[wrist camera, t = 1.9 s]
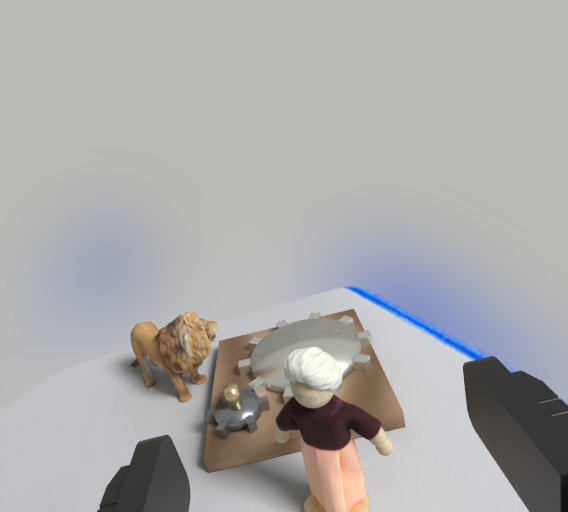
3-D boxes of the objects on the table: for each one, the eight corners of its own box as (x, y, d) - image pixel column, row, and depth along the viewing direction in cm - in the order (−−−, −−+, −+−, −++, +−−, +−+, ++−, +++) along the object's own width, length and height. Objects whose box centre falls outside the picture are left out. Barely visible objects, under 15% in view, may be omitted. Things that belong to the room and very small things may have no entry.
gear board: (208, 472, 33) (203, 458, 33) (222, 351, 49) (219, 341, 49) (405, 426, 33) (403, 411, 33) (355, 319, 49) (353, 308, 48)
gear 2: (239, 418, 36) (236, 410, 36) (242, 337, 48) (240, 330, 48) (391, 383, 36) (390, 373, 35) (356, 310, 48) (355, 302, 48)
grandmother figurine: (285, 534, 27) (233, 378, 23) (294, 482, 31) (250, 337, 26) (407, 537, 25) (377, 367, 21) (402, 481, 29) (375, 325, 24)
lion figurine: (242, 376, 44) (217, 302, 41) (210, 412, 40) (180, 333, 37) (149, 357, 52) (122, 293, 49) (114, 385, 48) (83, 318, 45)
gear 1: (205, 444, 34) (194, 416, 33) (211, 401, 39) (201, 375, 38) (271, 429, 34) (262, 400, 33) (268, 388, 39) (261, 361, 38)
